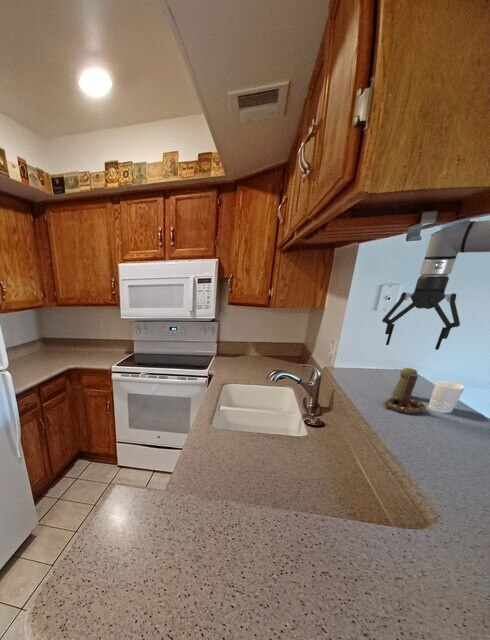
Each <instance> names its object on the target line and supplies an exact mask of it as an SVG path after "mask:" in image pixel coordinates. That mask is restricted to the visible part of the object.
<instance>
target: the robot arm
mask: <svg viewBox="0 0 490 640" xmlns="http://www.w3.org/2000/svg"><path fill="white" fill-rule="evenodd" d="M459 253H490V219H487V220H486V219H485V220H477V221H476V220H471V218H470V219H468V220H464V221H459V222H454V223H450V224H446V225H440V226H435V225H434V227H433V229H432V233H430V238H429V241H428V246H427V249H426V251H425V256H424V259H423V262H422V264H421V268H420V271H419V275H420V276H419V277H418V278H417V281H416V285H415V287H414V291H413V292H412V293H409V292H405V291H404V292H402V293H401V295H400V297H399V299H398V300H397V301H396V302H395V304H394V305H393V306H392V308H391V309H390V310H389V311H388V312H387V313H386V315H385V316H384V317H383V318H382V320H381V322H382V323H384V324H386V328H385V332H384V334H385V335H387V338H386V342H385V345H386V346H389V344H390V341H391V339H392V335H393V331H394V327H395V322H397V320H399V319H401V318H402V317H403V316H404V315H405V314H407V313H408V312H410V311H411V310H412V309H413V308H417V309H418V310H419V309H425V310H430V309H433V308H434V310H435V311H436V313H437V314H438V316H439V318H440V319H441V321H442V323H443V324H444V326H442V328H441V331H440V334H439V336H438V339H437V342H436V345H435V347H434V349H435V350H437V351H439V350H440V347H441V343H442V341H443V340H447V339H448V338H449V335H450V332H451V330H452V329H453V328H458V327H460V326H461V322H460V317H459V313H458V309H457V304H456V300H457V293H455V292H453V293H448V294H447V293H446V289H447V285H448V283H449V280H450V277H449V276H448V275H451V274H452V271H453V268H454V266H455V262H456V259H457V257H458V254H459ZM445 293H446V294H445ZM409 298H410V300H411V301H412V302H411V303H410V304H409V305H408V306H406V307H405V308H403V309H402V310H401V311H400V312H398V313H397V314H396V315H394V316H393V317H392V318H391V316H392V315H393V314H394V313H395V312H396V310H397V309H399V307H400V306H401V305H402V303H403V302H404V301H407V300H408V299H409ZM444 299H446V302H449V307H450V311H451V316H452V320H453V322H451V321H450V320H449V318H448V317H447V315H446V313H445V312H444V310H443V309H442V307H441V305H440V304H439V303H441V302H442V301H444Z"/></svg>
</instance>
